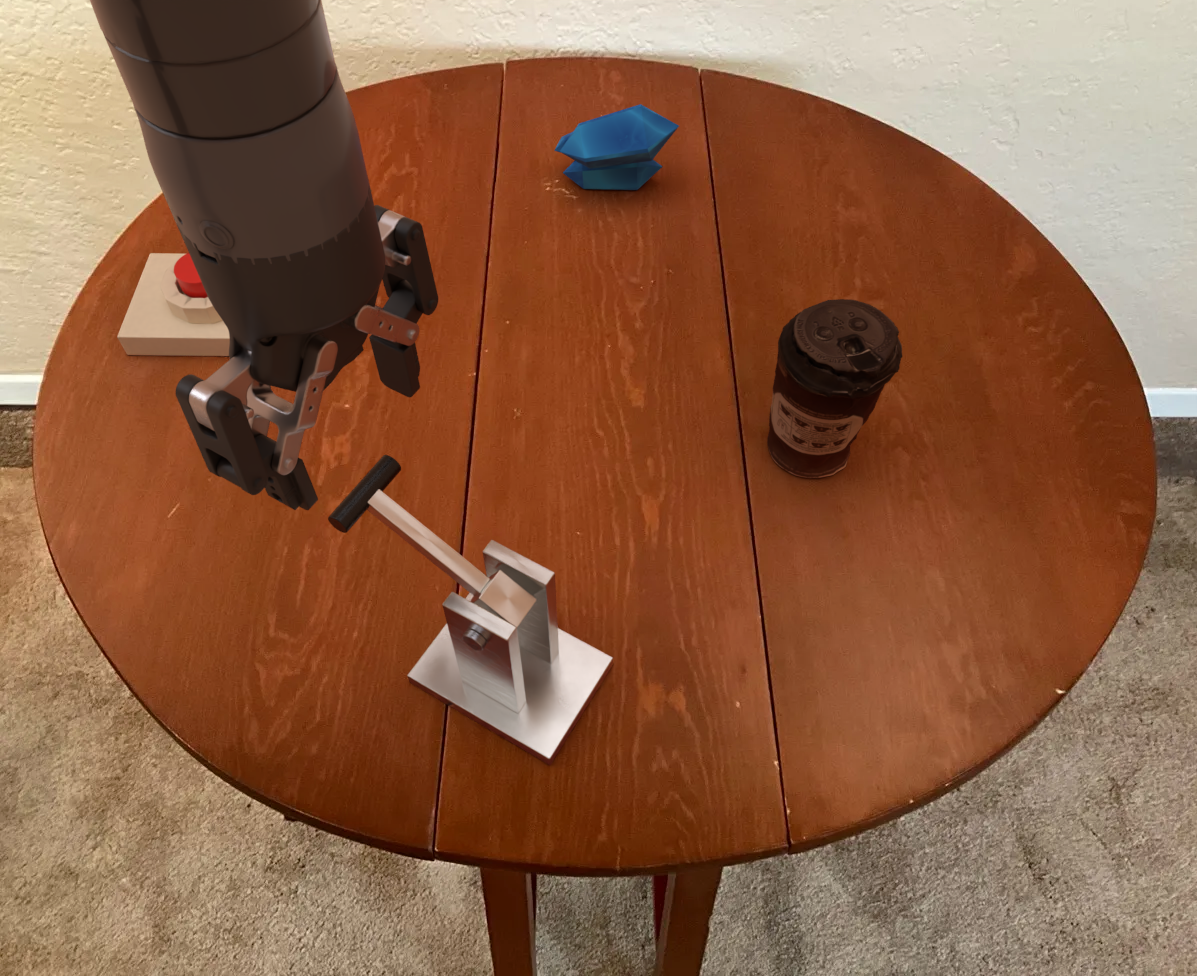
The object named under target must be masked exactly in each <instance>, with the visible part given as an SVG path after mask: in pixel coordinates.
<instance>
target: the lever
mask: <svg viewBox="0 0 1197 976" xmlns="http://www.w3.org/2000/svg"><path fill="white" fill-rule="evenodd" d="M401 471H402V466H401V465H400V463H399V461H398V460H397V459H396V458H394V457H392V456H391V455H388V454H383V455H382V456H381V458H379V460H377V462H376V463H375V464H374V465H373V466H372V467H371V469H370V470H369V471H368V472H367V473H366V474H365V475H364V476H363V477H362V479H361V480H359V482H358V483H357V484H356V485H355V487H353V489H352V490H351V491H350V492H349V493H348V494H347V495H346V496H345V498H344V499H343V500H342V501H341V502H340V503H339V505H337V507H336V508H335V509H334V510H333V511H332V512H331V514H329V516H328V517H327V520H328V522H329V524H330V525H331V526H332V527H333V528H334V529H336V530H337V531H338V532H340V533H343V534H346V533H348V532H349V531H350V530H351V528H352V527H354V525H355V524H356V523H357V522H358V520H360V518H361V517H362V516H363V515H364V513H366V512H369V513H370V514H371V515H373V516H374V517H375V518H377V520H379V521H380V522H381V523H382V524H384V525H385V526H386V527H387V528H389V529H390V530H391V531H392V532H394V533H395V534H396V535H397V536H399V537H400V538H401V539H403V541H405V542H406V543H407V544H408V545H410V546H411V547H413V549H415V551H417V552H419V553H420V554H421V555H422V556H423V557H425V558H426V559H427V560H428V561H430V562H431V563H432V564H434V565H435V566H436V567H437V568H438V569H440V570H441V571H442V572H443V573H445V575H447V576H449V577H450V578H451V579H452V580H453V581H455V582H456V583H457V584H458V585H459V586H461V587H462V588H463V589H465V590H466V591H467V592H468V593H469V592H470V593H471V594H472V595H473V596H474V597H473V598H472V599H471V602H472V603H474V604H476V605H478V606H480V607H482V608H483V609H485V610H487V611H489V612H491V613H492V614H494V615H496V616H498V617H500V618H502V619H503V620H505V621H507V622H509V623H511V624H513V625H514V626H516V627H518V626H519V624H520V623H521V622H522V620H523V619H524V617H525V616H526V614H527V613H528V612H529V610H530V609H531V607H532V606H533V605H534V603H535V602H536V600H537V599H536V598H534V597H533V596H532V595H531V594H530V593H528V592H527V591H526V590H525V589H523V588H522V587H521V586H520V585H518V584H517V583H516V582H515V581H514V580H512V579H511V578H510V577H509V576H507V575H506V574H505V573H504V572H503V571H501V570H499V571H497V572H496V573H494V574H493V575H491V576H490V577H487V576H486V573H484V572H482V571H481V569H479V568H478V567H476V566H475V565H474V564H473V563H471V562H470V561H469V560H468V559H466V558H465V557H464V556H463V555H461V554H460V553H459V552H458V551H457V550H455V549H454V548H453V547H452V546H451V545H450V544H448V543H446V542H445V541H444V540H443V539H442V538H441V537H439V536H438V535H437V534H435V532H434V531H432V530H431V529H429V528H428V527H427V526H426V525H425V524H423V523H422V522H421V521H420V520H418V519H417V518H416V517H414V516H413V515H412V514H411V513H410V512H409V511H408V510H406V509H405V508H403V507H402V506H401V505H400V504H399V503H397V501H395V500H393V499H392V498H391V497H390V496H389V495H387V494H386V492H384V491H385V490H386V488H387V487H388V486H389V485H390V484H391V483H392V482H393V480H394V479H395V478H396V477H397V476H398V475H399V473H400V472H401Z"/></svg>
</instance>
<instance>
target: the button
mask: <svg viewBox="0 0 1197 976" xmlns="http://www.w3.org/2000/svg"><path fill="white" fill-rule="evenodd" d="M184 254H185V255H183V256H182V257H181V258H180V259H179V260H178V261H177V262H176V264H175V266H174V274H175V276H176V279H177V281H178V283H179V285H180V287H181V289H182V291H183V292H184V293H185V294H186V295H187V296H189V297H192V298H207V297H208V296H207V293H206V291H205V289H204V286H203V284H202V282H201V279H200V277H199V275H198V272H197V270H196V268H195V266H194V263H193V261H192V259H191V256H190V254H189V252H187V253H184Z"/></svg>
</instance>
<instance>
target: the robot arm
mask: <svg viewBox="0 0 1197 976" xmlns="http://www.w3.org/2000/svg"><path fill="white" fill-rule="evenodd" d="M89 1H90V4H91V7H92V10H93V13H94V15H95V18H96V20H97V24H98V26H99V28H100V30H101V31H102V33H103V36H104V40H105V41H106V44H107V46H108V48H109V51H110V53H111V55H112V57H113V60H114V63H115V64H116V67H117V69H118V72H119V74H120V76H121V79H122V81H123V84H124V86H125V88H126V91H127V93H128V95H129V97H130V98H129V99H130V100H131V102H132V105H133V108H134V111H135V115H136V117H137V119H138V122H139V126H140V130H141V134H142V138H143V142H144V145H145V149H146V150H145V151H146V153H147V157H148V160H149V163H150V165H151V169H152V170H153V171H152V172H153V174H154V176H155V178H156V180H157V182H158V185H159V188H160V190H161V192H162V194H163V196H164V199H165V201H166V203H167V205H168V208H169V210H170V213H171V215H172V217H173V220H174V222H175V225H176V227H177V229H178V231H179V233H180V236H181V238H182V241H183V243H184V245H185V247H186V249H187V253H189V254H190V256H191V259H192V261H193V263H194V266H195V268H196V270H197V272H198V275H199V277H200V279H201V282H202V284H203V286H204V289H205V291H206V293H207V296H208V298H209V300H210V302H211V303H212V305H213V307H214V308H215V310H216V311H217V313H218V314H219V316H220V317H221V319H222V320H223V322H224V323H225V325H226V326H227V328H228V330H229V337H230V344H229V356H228V358H229V360H228V361H226V362H225V363H224V364H222V365H221V366H220V367H219V368H218V369H217V370H215V371H214V372H213V373H212V374H211V375H210V376H208V377H207V378H206V379H202V378H201V377H199V376H197V375H195V374H191V373H190V374H187V375H185V376H183V377H182V378H181V379H180V380H179V381H178V383H177V385H176V387H175V398H176V399H177V401H178V403H179V406H180V408H181V411H182V413H183V416H184V417H185V420H186V422H187V425H188V427H189V429H190V431H191V433H192V436H193V438H194V440H195V442H196V445H197V447H198V450H199V452H200V454H201V456H202V458H203V462H204V463H205V466H206V468H207V470H208V471H209V473H211V474H213V475H215V476H216V477H218V478H223V479H224V480H226V481H227V482H230V483H231V484H233V485H235V486H237V487H239V488H240V489H241V490H242V491H244V492H245V493H247V494H249V495H251V496H256V495H258V494H260V493H261V492H263V490H265V492H266V494H267V496H269V497H270V498H272V499H274V500H275V501H278V502H280V504H283V505H285V506H287V507H288V508H291V509H292V510H294V511H296V510H297V509H298V508H301V509H303V510H305V511H310V510H311V508H313V506H314V505H315V504H316V503H317V502H318V501H319V496H318V495H317V493H316V490H315V487H314V484H313V482H312V480H311V477H310V475H309V472H308V470H307V467H306V465H305V462H304V460H303V459H302V458H301V457H299V454H300V451H301V447H302V443H303V439H304V433H305V431H306V430H308V429H312V428H313V427H315V425H316V424H317V420H318V414H319V410H320V406H321V402H322V398H323V393H324V391H326V389H327V388H328V387H329V386H330V385H331V384H332V383H333V382H334V381H335V379H336V377H337V376H338V375H339V373H340V372H341V370H342V369H343V368H345V367H346V366H347V365H349V364H350V363H352V362H354V360H355V359H357V358H358V357H359V356H360V355H361V354H362V353H363V352H364V349H365V348H364V346H363V345H364V344H365V342H366V340H367V339H368V338H369V342H370V346H371V350H372V354H373V357H374V360H375V361H374V362H375V365H376V369H377V373H378V377H379V380H380V381H381V383H382V384H383V385H384V386H385V387H386V388H387V389H390V390H392V391H394V392H396V393H398V394H401V395H403V396H405V397H406V398H413V396H414V395H415V394H417V392H419V390H420V389H421V384H420V379H419V377H420V374H421V364H420V360H419V355H418V349H417V345H416V341H417V339H418V337H419V335H420V325H419V324H418V322H419V321H420V319H421V317H422V315H426V316H431V315H433V313H434V312H435V311H436V309H437V307H438V304H439V294H438V290H437V286H436V281H435V277H434V271H433V268H432V264H431V258H430V254H429V251H428V246H427V245H428V244H427V241H426V237H425V233H424V228H423V225H422V223H420V222H419V221H417V220H414V219H411V218H410V217H407V216H405V215H403V214H400V213H397V212H396V211H393V210H390V209H388V208H386V207H383V206H382V205H379V204H375V203H374V199H373V193H372V189H371V184H370V181H369V176H368V175H369V174H368V171H367V167H366V161H365V157H364V153H363V148H362V147H363V146H362V143H361V139H360V133H359V130H358V126H357V122H356V117H355V115H354V112H353V108H352V107H351V104H350V101H349V98H348V95H347V94H346V90H345V88H344V85H343V82H342V79H341V77H340V74H339V70H338V66H337V64H336V59H335V54H334V50H333V46H332V42H331V37H330V32H329V28H328V23H327V19H326V14H325V11H324V6H323V1H322V0H89ZM381 284H383V287H384V290H385V294H386V296H387V298H388V299H387V300H386V302H385V304H384V305H383V307H381V306H378V305H376V304H377V298H378V295H379V290H380V286H381ZM368 335H370V336H368ZM272 387H274V388H277V389H281V390H285V391H286V390H287V391H290V392H295V396H294V400H293V402H291V401H288V400H286V399H285V398H283V397H280V396H279V395H277V394H276V393H275V392H274V391H273V389H272ZM271 423H273V424H274V425H276V427H277V429H278V432H277V437H276V440H275V439H273V438H271V437H269V436H268V433H269V429H270V424H271Z"/></svg>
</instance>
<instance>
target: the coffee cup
mask: <svg viewBox="0 0 1197 976" xmlns="http://www.w3.org/2000/svg"><path fill="white" fill-rule="evenodd" d="M899 333H900V330H899V328H898V326H897V325H896V324H895V322H894V321H893V320H892V319H891V318H889V316H888V315H886V314H885V313H884V312H883V311H882V310H880V309H878V308H877V307H876V306H873V305H872V304H869V303H866V302H863V301H859V300H855V299H844V298H840V299H837V298H836V299H827V300H824V301H822V302H819V303H816V304H813V305H811V306H809V307H807V308H804V309H803V310H801V311H800V312H798V313H797V314H795V315H794V317H792V318H791V319H790V320H789V321H788V322H787V323H786V324H785V325H784V326H783V327H782V329H781V331H780V335H779V338H778V340H777V357H776V358H777V359H776V364H775V369H774V379H773V383H772V384H773V385H772V397H771V405H770V409H769V418H768V427H769V428H768V434H767V440H766V444H767V448H768V451H769V454H770V457H771V459H772V460H773V461H774V462H775V464H777V466H778V467H780V468H781V469H783V470H784V471H786V472H788V473H789V474H792V475H793V476H797V477H801V478H807V479H820V478H826V477H831V476H833V475H835V474H836V473H838V472H839V471H841V470H844V469H845V468H846V466H847V463H848V460H849V457H850V455H851V446H852V445H853V443H854V441H855V440H857V437H858V434H859V431H861V428H862V426H864V425H865V424H866V423H867V422H868V420H869V418H870V416H871V415H872V413H873V411H874V410H875V407H876V405H877V403H878V401H879V398H880V396H881V393H882V391H883V390H884V388H885V386H886V385H887V384H888V383H889V382H890V381H891V380H892V378H893V377H894V376H895V374H896V373H899V370H900V368H901V367H900V365H901V361H902V358H903V345H902V343H901V341H900V338H899Z"/></svg>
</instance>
